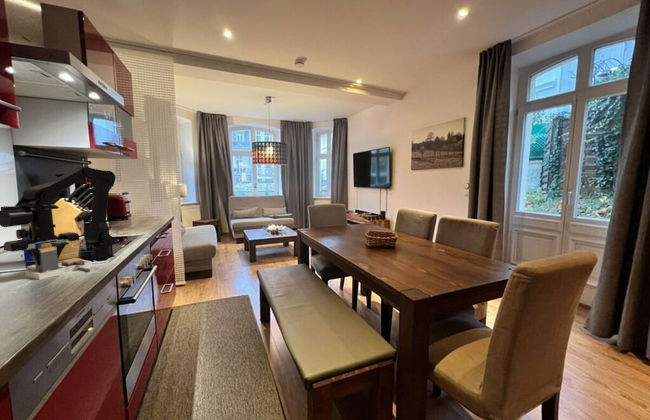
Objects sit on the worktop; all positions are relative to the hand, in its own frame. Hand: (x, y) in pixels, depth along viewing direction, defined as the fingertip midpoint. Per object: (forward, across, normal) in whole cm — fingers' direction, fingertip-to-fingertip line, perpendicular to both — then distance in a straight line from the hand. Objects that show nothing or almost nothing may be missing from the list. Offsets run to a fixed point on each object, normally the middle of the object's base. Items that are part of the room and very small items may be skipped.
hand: (46, 263), depth 99 cm
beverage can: (+4, -7, -26) cm, 27 cm away
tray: (+4, -5, -10) cm, 12 cm away
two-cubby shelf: (+4, -4, 0) cm, 6 cm away
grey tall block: (+2, 0, 0) cm, 2 cm away
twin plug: (+4, -7, +4) cm, 9 cm away
